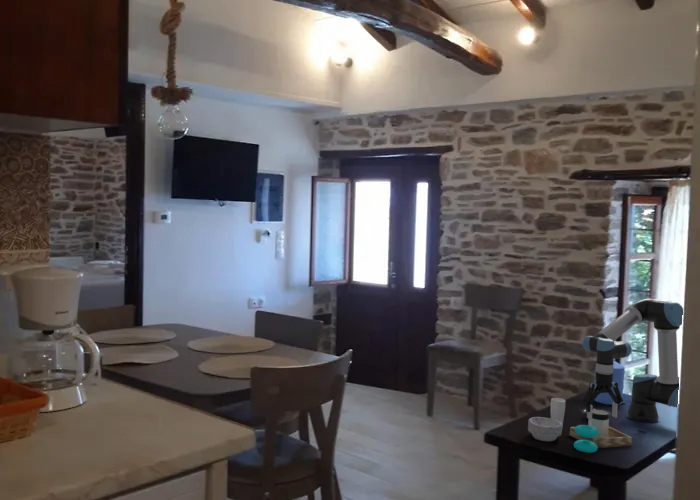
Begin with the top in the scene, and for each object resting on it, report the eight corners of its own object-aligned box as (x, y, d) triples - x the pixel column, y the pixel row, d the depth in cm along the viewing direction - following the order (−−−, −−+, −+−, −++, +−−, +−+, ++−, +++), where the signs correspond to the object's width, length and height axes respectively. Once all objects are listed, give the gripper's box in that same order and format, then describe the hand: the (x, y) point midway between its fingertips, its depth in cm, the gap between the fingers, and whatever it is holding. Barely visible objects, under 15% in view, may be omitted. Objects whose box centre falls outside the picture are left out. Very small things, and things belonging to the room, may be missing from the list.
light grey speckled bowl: (557, 446, 302) (558, 428, 302) (523, 439, 310) (524, 422, 309) (564, 437, 316) (565, 420, 315) (532, 431, 323) (533, 414, 323)
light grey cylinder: (547, 427, 329) (549, 397, 329) (561, 428, 329) (563, 398, 328) (551, 432, 323) (553, 401, 322) (565, 432, 322) (567, 401, 322)
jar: (598, 441, 308) (600, 415, 308) (584, 436, 315) (585, 411, 314) (611, 438, 313) (612, 413, 312) (596, 433, 320) (598, 408, 319)
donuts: (575, 422, 305) (599, 426, 301) (574, 444, 306) (597, 448, 302) (574, 428, 296) (598, 432, 292) (572, 451, 297) (596, 455, 293)
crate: (605, 433, 324) (606, 425, 324) (631, 445, 307) (631, 437, 307) (569, 435, 319) (570, 426, 319) (593, 448, 302) (594, 439, 301)
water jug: (619, 407, 374) (622, 357, 373) (590, 401, 382) (593, 353, 381) (625, 401, 387) (628, 353, 386) (596, 396, 395) (599, 349, 394)
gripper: (621, 369, 319) (619, 413, 320) (576, 371, 312) (573, 416, 313) (632, 373, 311) (630, 418, 313) (586, 375, 304) (583, 421, 306)
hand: (601, 417), depth 313 cm, fingers open, 13 cm apart
